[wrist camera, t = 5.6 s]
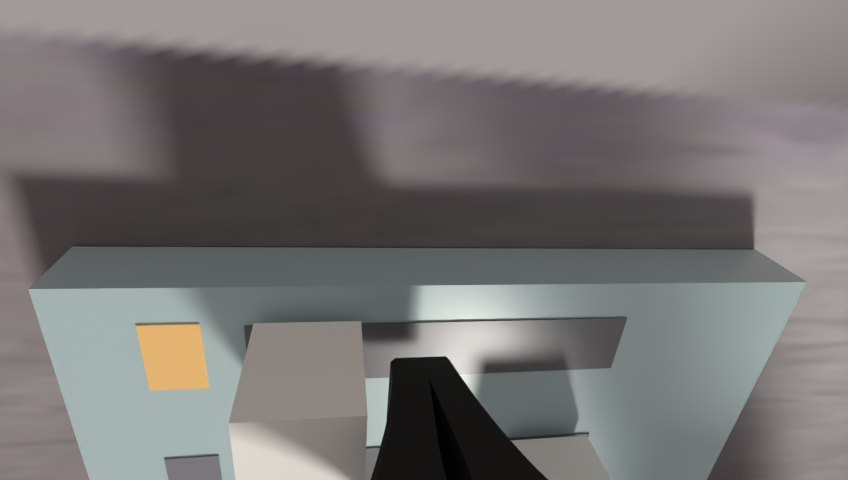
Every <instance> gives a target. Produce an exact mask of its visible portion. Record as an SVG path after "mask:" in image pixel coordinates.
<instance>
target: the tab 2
mask: <svg viewBox="0 0 848 480" xmlns="http://www.w3.org/2000/svg"><path fill="white" fill-rule="evenodd" d="M511 441H512V442H513V443H514V445H515V446H516V447H517V448H518V449H519V450H520V451H521V452H522V454H523V455H524V456H525V457H526V458H527V459H528V460H529V461H530V462H531V463H532V464H533V465H534V466H535V467H536V468H537V469H538V470H539V471H540V472H541V473H542V474H543V475H544V476H545V477H546V478H547V479H548V480H611V478H610V477H609V475H608V473H607V471H606V469H605V468H604V466H603V464H602V462H601V460H600V459H599V457H598V455H597V453H596V451H595V450H594V448H593V446H592V444H591V442H590V441H589V439H588V437H587V435H585V436H570V437H555V438H541V439H526V440H511Z"/></svg>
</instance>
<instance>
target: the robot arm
mask: <svg viewBox="0 0 848 480" xmlns="http://www.w3.org/2000/svg"><path fill="white" fill-rule="evenodd" d="M386 419H387V421H386V426H385V431H384V435H383V438H382V442H381V446H380V450H379V453H378V457H377V460H376V464H375V467H374V470H373V473H372V476H371V479H370V480H548V479H547V478H546V477H545V476H544V475H543V474H542V473H541V472H540V471H539V470H538V469H537V468H536V467H535V466H534V465H533V464H532V463H531V462H530V461H529V460H528V459H527V458H526V457H525V456H524V455H523V454H522V452H521V451H520V450H519V449H518V448H517V447H516V446H515V445H514V443H513V442H512V441H511V440H510V439H509V438H508V437H507V436H506V434H505V433H504V432H503V431H502V430H501V428H500V427H499V426H498V425H497V424H496V422H495V421H494V420H493V419H492V417H491V416H490V415H489V414H488V412H487V411H486V410H485V409H484V407H483V406H482V405H481V404H480V402H479V401H478V400H477V398H476V397H475V396H474V394H473V393H472V391H471V390H470V389H469V387H468V386H467V385H466V383H465V382H464V380H463V379H462V377H461V376H460V375H459V373H458V372H457V370H456V369H455V367H454V366H453V364H452V363H451V361H450V360H449V359H448V358H447V357H446V356H439V357H410V358H395V359H394V360H392V361H391V362H390V376H389V390H388V404H387V418H386Z"/></svg>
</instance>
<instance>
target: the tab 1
mask: <svg viewBox="0 0 848 480" xmlns="http://www.w3.org/2000/svg"><path fill="white" fill-rule="evenodd" d="M367 419H368V414H367V399H366V385H365V370H364V355H363V341H362V326H361V321H337V322H291V323H254V324H253V328H252V332H251V335H250V339H249V343H248V347H247V351H246V355H245V359H244V363H243V367H242V371H241V375H240V379H239V383H238V387H237V391H236V395H235V399H234V403H233V407H232V411H231V415H230V419H229V423H228V425H229V433H230V441H231V449H232V457H233V464H234V472H235V480H365V460H366V440H367Z"/></svg>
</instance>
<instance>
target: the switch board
mask: <svg viewBox="0 0 848 480" xmlns="http://www.w3.org/2000/svg"><path fill="white" fill-rule="evenodd" d="M806 283H807V282H806V281H804V280H803V279H801V278H800V277H798V276H797V275H795V274H793V273H792V272H790V271H789V270H787V269H785V268H784V267H782V266H781V265H779V264H777V263H776V262H774V261H773V260H771V259H769V258H768V257H766V256H765V255H763V254H762V253H760V252H758V251H757V250H739V249H515V248H292V247H71V248H70V249H69V250H68V251H67V252H66V253H65V254H64V255H63V256H62V257H61V258H60V259H59V260H58V261H57V262H56V263H55V264H54V265H53V266H52V267H51V268H50V269H49V270H48V271H46V272H45V273H44V274H43V275H42V276H41V277H40V278H39V279H38V280H37V281H36V282H35V283H34V284H33V285H32V286H31V287H30V288H29V289H28V290H29V293H30V296H31V299H32V302H33V305H34V308H35V311H36V315H37V318H38V321H39V324H40V327H41V330H42V333H43V336H44V339H45V343H46V346H47V349H48V352H49V355H50V358H51V361H52V364H53V367H54V371H55V374H56V377H57V380H58V383H59V386H60V389H61V392H62V395H63V399H64V402H65V405H66V408H67V411H68V414H69V417H70V420H71V423H72V427H73V430H74V433H75V436H76V439H77V442H78V445H79V448H80V451H81V455H82V458H83V461H84V464H85V467H86V470H87V473H88V476H89V479H90V480H235V472H234V464H233V457H232V449H231V441H230V433H229V425H228V423H229V419H230V415H231V411H232V407H233V403H234V399H235V395H236V391H237V387H238V383H239V379H240V375H241V371H242V367H243V363H244V359H245V355H246V351H247V347H248V343H249V339H250V335H251V332H252V328H253V324H254V323H291V322H337V321H361V326H362V341H363V355H364V370H365V385H366V399H367V414H368V419H367V440H366V460H365V480H370V479H371V476H372V473H373V470H374V467H375V464H376V460H377V457H378V453H379V450H380V446H381V442H382V438H383V435H384V431H385V426H386V421H387V419H386V418H387V404H388V390H389V376H390V362H391V361H392V360H394V359H395V358H410V357H439V356H446V357H447V358H448V359H449V360H450V361H451V363H452V364H453V366H454V367H455V369H456V370H457V372H458V373H459V375H460V376H461V377H462V379H463V380H464V382H465V383H466V385H467V386H468V387H469V389H470V390H471V391H472V393H473V394H474V396H475V397H476V398H477V400H478V401H479V402H480V404H481V405H482V406H483V407H484V409H485V410H486V411H487V412H488V414H489V415H490V416H491V417H492V419H493V420H494V421H495V422H496V424H497V425H498V426H499V427H500V428H501V430H502V431H503V432H504V433H505V434H506V436H507V437H508V438H509V439H510V440H526V439H541V438H555V437H570V436H585V435H587V437H588V439H589V441H590V442H591V444H592V446H593V448H594V450H595V451H596V453H597V455H598V457H599V459H600V460H601V462H602V464H603V466H604V468H605V469H606V471H607V473H608V475H609V477H610V478H611V480H707V478H708V476H709V474H710V472H711V470H712V468H713V466H714V464H715V462H716V460H717V458H718V456H719V455H720V453H721V451H722V449H723V447H724V445H725V443H726V441H727V439H728V437H729V435H730V433H731V431H732V429H733V427H734V425H735V423H736V421H737V419H738V417H739V415H740V413H741V411H742V409H743V407H744V405H745V403H746V401H747V399H748V397H749V395H750V393H751V391H752V389H753V387H754V385H755V383H756V382H757V380H758V378H759V376H760V374H761V372H762V370H763V368H764V366H765V364H766V362H767V360H768V358H769V356H770V354H771V352H772V350H773V348H774V346H775V344H776V342H777V340H778V338H779V336H780V334H781V332H782V330H783V328H784V326H785V324H786V322H787V320H788V318H789V316H790V314H791V312H792V310H793V308H794V307H795V305H796V303H797V301H798V299H799V297H800V295H801V293H802V291H803V289H804V287H805V285H806Z"/></svg>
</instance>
